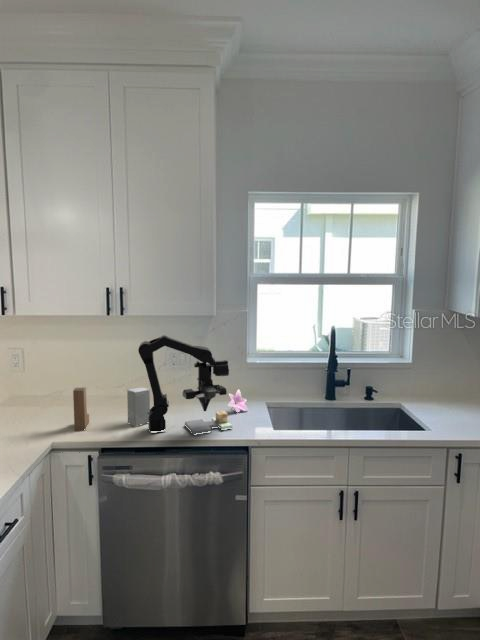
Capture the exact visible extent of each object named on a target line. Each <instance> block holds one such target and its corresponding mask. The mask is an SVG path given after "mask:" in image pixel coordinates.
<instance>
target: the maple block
mask: <svg viewBox="0 0 480 640" xmlns="http://www.w3.org/2000/svg"><path fill="white" fill-rule="evenodd" d="M215 417H216V421H217V422H218V423H226V422H227V421H228V413H227V412H226V411H224V410H221V411H215Z"/></svg>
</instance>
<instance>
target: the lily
mask: <svg viewBox="0 0 480 640" xmlns="http://www.w3.org/2000/svg"><path fill="white" fill-rule="evenodd" d="M228 396H229V398H230V401H229V403H227V406H228V407H231V409H233V408H235V412H239V413H240V410H242V411H244V412H246V411H245V410H248V411H249V409H248V407H247V405H246V404H245V403H246V402H247V399H246V398H243V397H242V392H241V390H240V388H239V389H237V391H236V393H235V395H234V394H232V393H228Z"/></svg>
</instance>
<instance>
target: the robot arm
mask: <svg viewBox="0 0 480 640" xmlns="http://www.w3.org/2000/svg"><path fill="white" fill-rule="evenodd" d="M164 347H167V348H169V349H173V350H174V351H178V352H182V353H183V354H184V353H185V354H187V355H190V356H191V357H192V358H194V359H196V360H197V361H196V362H195V363H194V364H193V366H194V368H198V371H197V373H198V375H197V377H196V380H197V381H198V383H197V384H198V385H197V390H193V388H188V389H183V391H182V397H183V398H185V399H186V400H193V399H195V398H196V399H198V400H199V402H200V405H201V408H202V411H203V412H207V411H208V410H207V409H208V407H209V404H210V402H211V400H212V399H214V398H216V395H217V394H218V395H220V396H223V395H224V396H225V395H227V394H228V393H227V388H226V387H224V386H223V385H222V384H221V385H220V384H214V383H213V379H212V375H214V376H215V377H229V375H230V369H229V361H228V360H227V359H225V360H216V359H215V357H213V353H212V352H211V350H210V349H209V348H208V347H207V346H202V345H201V346H200V345H192V344H190V343H186V342H183V341H181V340H178V339H175V338H172V337H169V336H167V335H166V334H165V335H164V334H163V335H161V336H159V337H157V338H154V339H151V340H149V341H148V340H147V341H146V340H144V341H142V342H141V343H140V344H139V346H138V350H137V351H138V354H139V357H140V359H141V360H142V362H143V364H144V366H145V370H146V373H147V377H148V381H149V384H150V389H151V392H152V397H153V400H152V401H153V406H152V407H150V413H149V417H148V420H149V423H148V428H149V430H150V431H161V430H164V429H165V430H166V427H167V425H166V419H165V415H166V414H167V413H168V411H169V409H168V408H169V407H170V404H169V400H168V395H167V393H165V394H164V393H163V392H162V388H161V384H160V380H159V378H158V377H159V376H158V372H157V369H156V366H155V361H154V358H155V357H154V352H156V351H158V350H160V349H161V348H164ZM149 430H148V431H149Z"/></svg>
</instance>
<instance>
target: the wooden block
mask: <svg viewBox="0 0 480 640" xmlns="http://www.w3.org/2000/svg"><path fill="white" fill-rule="evenodd" d="M72 392H73V393H72V394H73V396H72V397H73V421H74V423H73V425H74V431H75V430H78V431H85V430H86V429H87V428H88V426H89V424H90V413H88V411H87V408H88V407H87V388H86V387H75V388H74V390H73V391H72ZM87 425H88V426H87ZM86 427H87V428H86ZM84 429H85V430H84Z"/></svg>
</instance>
